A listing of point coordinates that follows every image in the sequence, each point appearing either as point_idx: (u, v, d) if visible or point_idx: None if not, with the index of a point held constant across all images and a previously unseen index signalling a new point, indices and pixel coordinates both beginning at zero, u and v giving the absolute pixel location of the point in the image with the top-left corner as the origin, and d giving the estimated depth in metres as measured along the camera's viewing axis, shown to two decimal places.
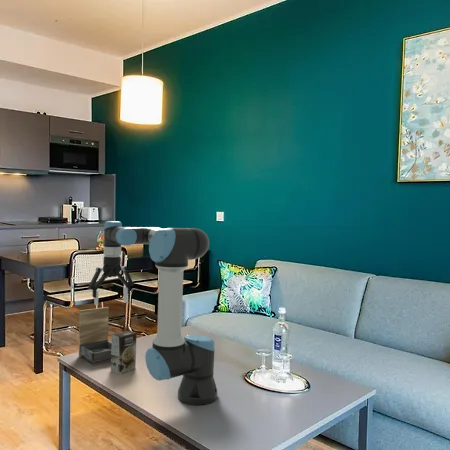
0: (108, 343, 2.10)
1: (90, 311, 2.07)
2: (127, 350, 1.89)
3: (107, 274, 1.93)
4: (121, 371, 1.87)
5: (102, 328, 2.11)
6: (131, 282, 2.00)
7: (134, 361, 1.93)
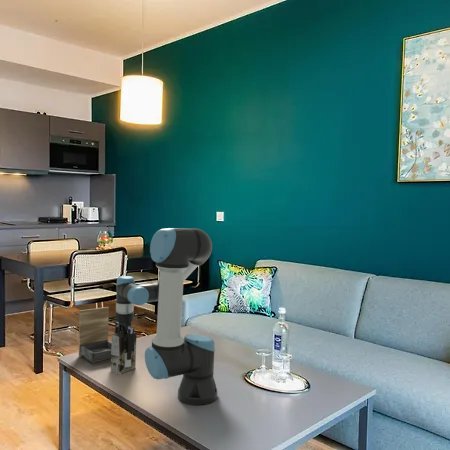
0: (108, 343, 2.10)
1: (90, 311, 2.07)
2: None
3: (118, 330, 1.92)
4: (121, 371, 1.87)
5: (102, 328, 2.11)
6: (128, 348, 1.86)
7: (134, 361, 1.93)
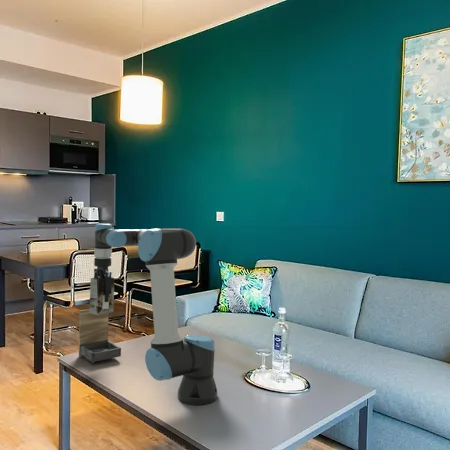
0: (108, 343, 2.10)
1: None
2: None
3: (97, 274, 2.02)
4: (99, 312, 1.98)
5: (102, 328, 2.11)
6: (105, 290, 1.96)
7: (112, 304, 2.03)
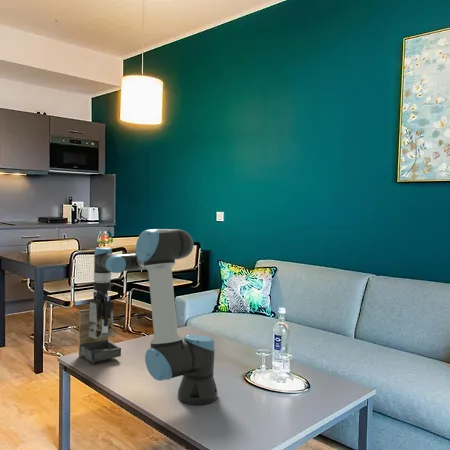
0: (108, 343, 2.10)
1: None
2: None
3: (96, 298, 2.03)
4: (98, 336, 1.98)
5: None
6: (105, 314, 1.96)
7: (111, 328, 2.04)
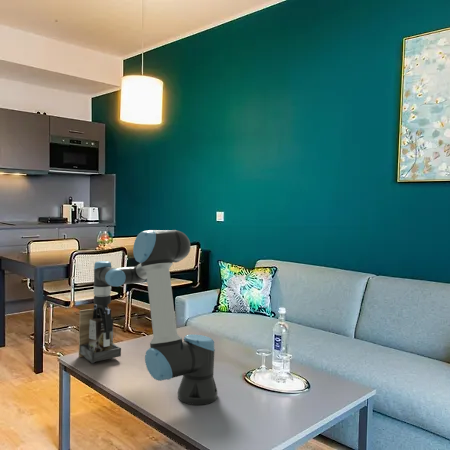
0: None
1: (90, 311, 2.07)
2: None
3: (96, 312, 2.02)
4: None
5: None
6: (106, 328, 1.95)
7: (111, 345, 2.04)
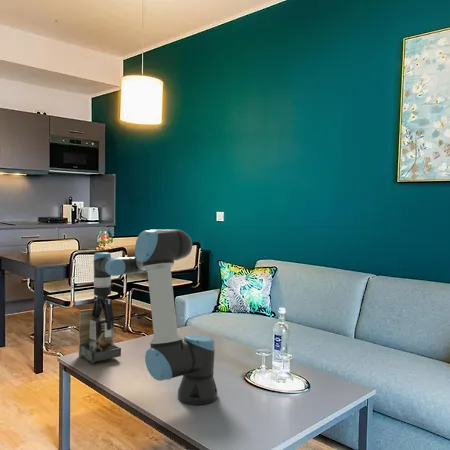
0: None
1: (90, 311, 2.07)
2: (104, 334, 2.00)
3: (96, 303, 2.02)
4: None
5: None
6: (107, 318, 1.94)
7: (111, 345, 2.04)
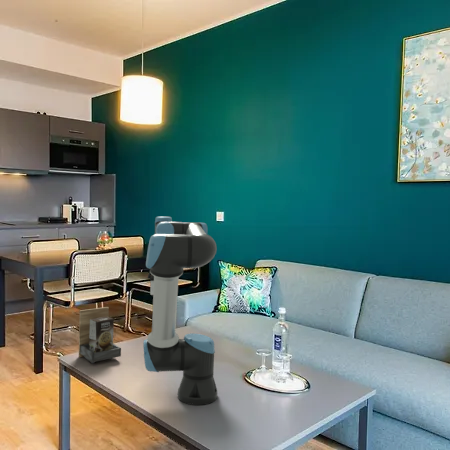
0: None
1: (90, 311, 2.07)
2: (104, 334, 2.00)
3: None
4: None
5: None
6: None
7: (111, 345, 2.04)
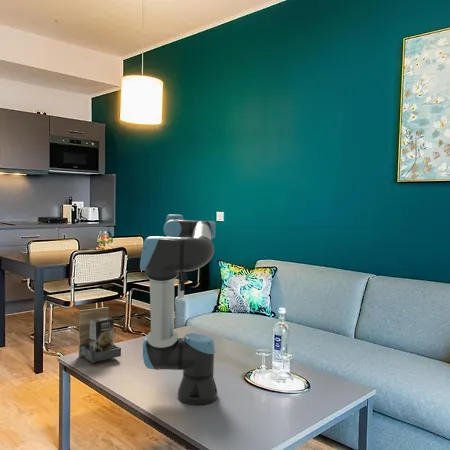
0: None
1: (90, 311, 2.07)
2: (104, 334, 2.00)
3: None
4: None
5: None
6: (182, 278, 1.92)
7: (111, 345, 2.04)
